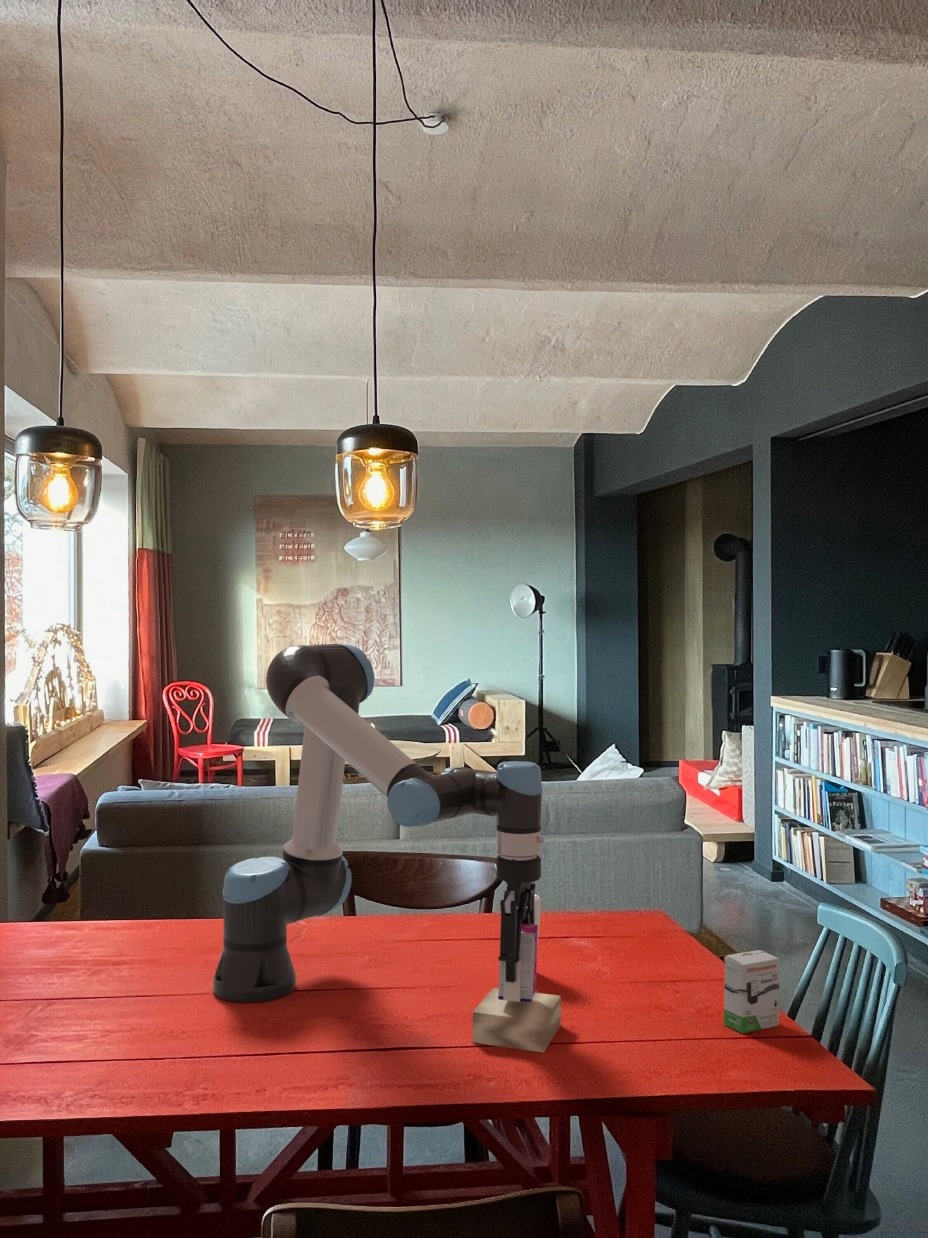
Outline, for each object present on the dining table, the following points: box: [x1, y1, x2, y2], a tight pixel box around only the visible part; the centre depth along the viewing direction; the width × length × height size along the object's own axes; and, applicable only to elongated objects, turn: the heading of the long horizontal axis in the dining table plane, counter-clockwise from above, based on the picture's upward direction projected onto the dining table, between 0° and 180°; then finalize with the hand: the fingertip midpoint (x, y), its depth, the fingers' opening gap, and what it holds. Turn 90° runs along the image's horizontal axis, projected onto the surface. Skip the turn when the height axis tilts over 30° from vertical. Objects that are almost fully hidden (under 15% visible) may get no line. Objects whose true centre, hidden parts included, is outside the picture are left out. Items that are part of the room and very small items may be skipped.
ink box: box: [723, 949, 781, 1034], centre depth 178 cm, size 9×5×12 cm, turn 117°
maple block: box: [472, 987, 562, 1054], centre depth 174 cm, size 12×12×5 cm
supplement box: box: [498, 924, 539, 1002], centre depth 174 cm, size 6×6×12 cm
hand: (517, 992), depth 174 cm, fingers closed on supplement box, 6 cm apart
